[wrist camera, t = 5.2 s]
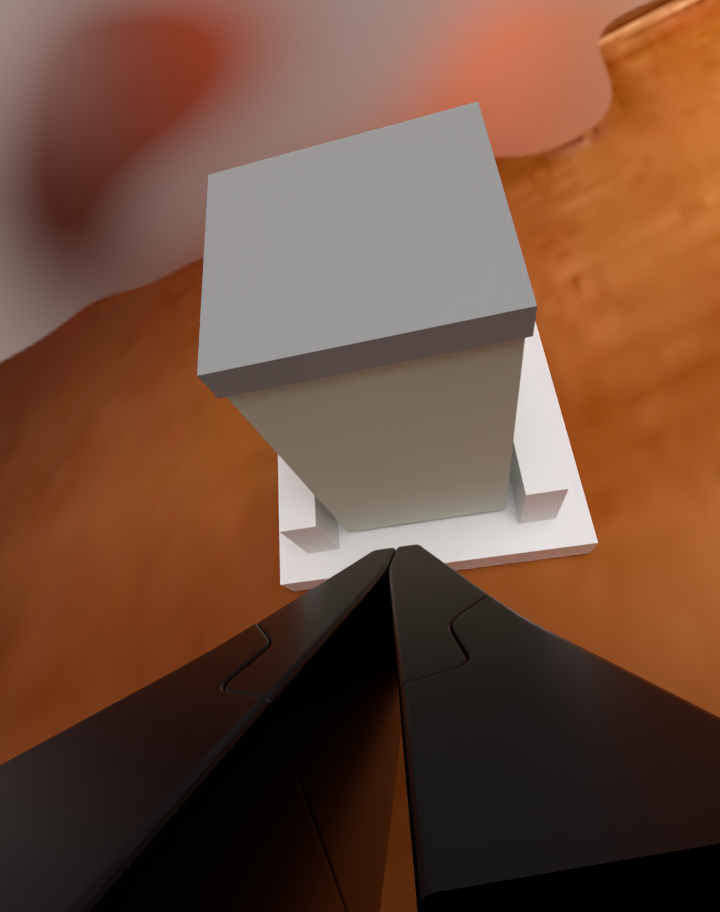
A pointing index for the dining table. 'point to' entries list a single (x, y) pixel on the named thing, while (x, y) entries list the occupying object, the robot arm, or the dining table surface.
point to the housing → (467, 536)
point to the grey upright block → (373, 317)
